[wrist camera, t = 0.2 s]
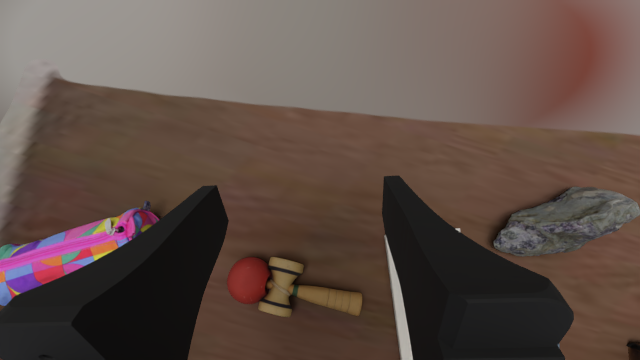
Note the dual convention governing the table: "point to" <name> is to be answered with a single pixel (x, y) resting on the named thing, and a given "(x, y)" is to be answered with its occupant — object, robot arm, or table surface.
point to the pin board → (399, 309)
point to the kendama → (283, 287)
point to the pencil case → (67, 251)
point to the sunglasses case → (634, 351)
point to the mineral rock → (566, 222)
